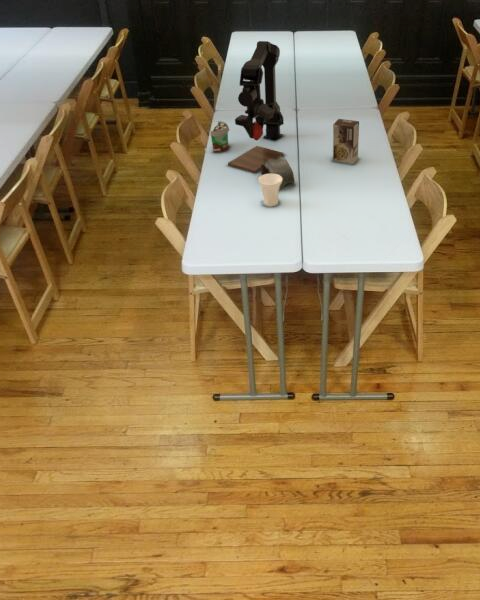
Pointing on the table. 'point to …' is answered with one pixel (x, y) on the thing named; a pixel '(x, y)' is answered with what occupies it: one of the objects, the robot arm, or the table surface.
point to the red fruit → (257, 131)
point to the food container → (220, 137)
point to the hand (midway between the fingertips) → (255, 135)
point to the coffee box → (345, 141)
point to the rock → (278, 169)
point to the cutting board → (254, 159)
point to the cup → (270, 188)
